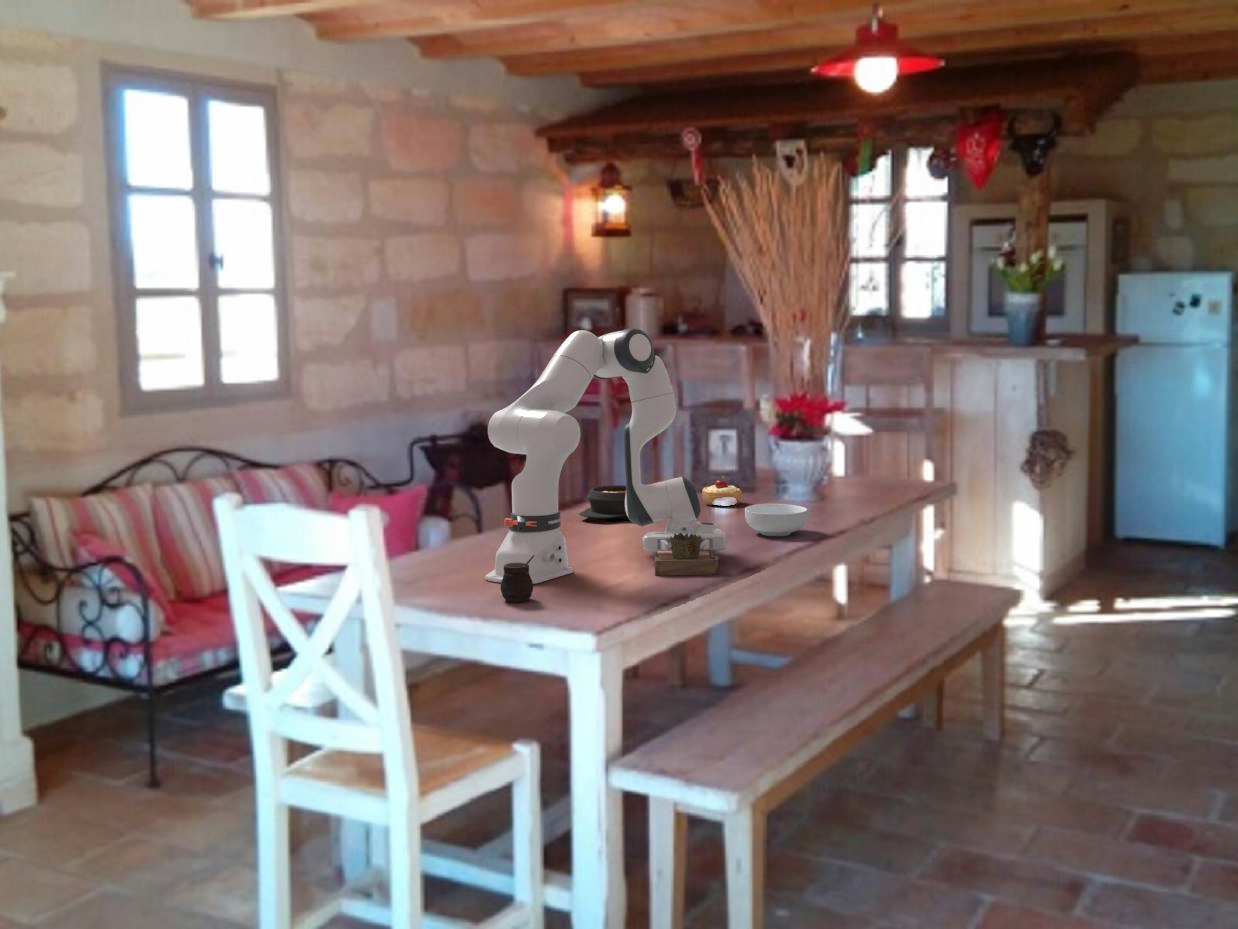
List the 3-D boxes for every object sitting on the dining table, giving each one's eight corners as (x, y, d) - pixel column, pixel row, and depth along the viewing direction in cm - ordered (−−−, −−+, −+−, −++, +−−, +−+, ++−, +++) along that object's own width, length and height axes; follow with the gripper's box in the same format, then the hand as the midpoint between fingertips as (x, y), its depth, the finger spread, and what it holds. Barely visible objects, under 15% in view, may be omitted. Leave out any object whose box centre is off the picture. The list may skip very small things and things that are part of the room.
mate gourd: (498, 598, 311) (497, 553, 310) (532, 595, 313) (531, 551, 312) (503, 605, 304) (501, 559, 303) (537, 602, 306) (536, 557, 305)
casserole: (613, 526, 396) (613, 497, 395) (564, 520, 408) (563, 491, 407) (667, 514, 416) (667, 485, 415) (618, 508, 427) (618, 480, 426)
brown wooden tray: (719, 574, 331) (718, 560, 331) (655, 575, 331) (655, 560, 331) (711, 548, 362) (711, 535, 362) (653, 549, 362) (653, 536, 362)
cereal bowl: (777, 542, 369) (777, 515, 369) (732, 534, 382) (731, 508, 381) (820, 533, 381) (820, 507, 380) (774, 526, 393) (774, 501, 392)
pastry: (697, 507, 427) (696, 478, 426) (708, 501, 438) (708, 472, 437) (735, 508, 423) (735, 479, 421) (746, 502, 434) (745, 474, 432)
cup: (691, 572, 334) (691, 539, 332) (664, 569, 337) (664, 536, 336) (706, 567, 340) (706, 534, 339) (680, 564, 344) (679, 531, 343)
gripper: (641, 524, 350) (642, 535, 337) (724, 523, 350) (727, 533, 336) (642, 549, 351) (642, 560, 338) (724, 548, 351) (727, 559, 337)
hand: (685, 547), depth 337 cm, fingers closed on cup, 7 cm apart
